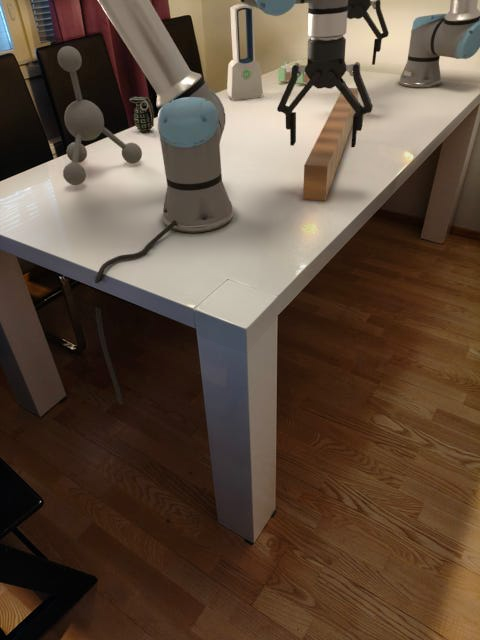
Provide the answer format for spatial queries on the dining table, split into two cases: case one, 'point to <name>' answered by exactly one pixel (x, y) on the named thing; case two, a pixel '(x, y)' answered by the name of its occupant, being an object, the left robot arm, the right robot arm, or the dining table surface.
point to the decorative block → (286, 71)
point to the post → (328, 150)
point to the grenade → (143, 114)
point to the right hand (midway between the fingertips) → (350, 63)
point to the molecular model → (85, 123)
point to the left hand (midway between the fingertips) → (322, 144)
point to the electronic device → (243, 71)
